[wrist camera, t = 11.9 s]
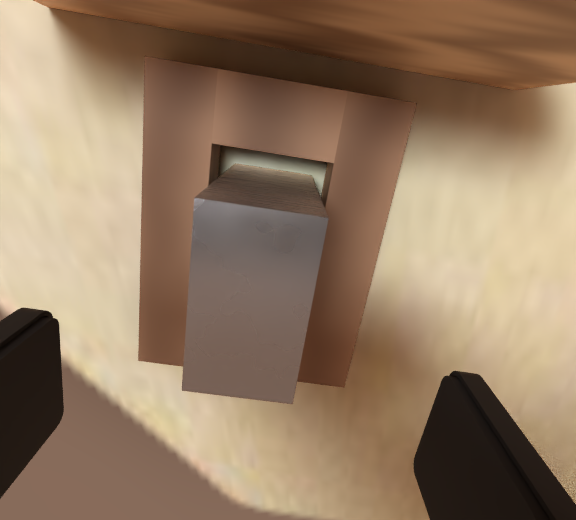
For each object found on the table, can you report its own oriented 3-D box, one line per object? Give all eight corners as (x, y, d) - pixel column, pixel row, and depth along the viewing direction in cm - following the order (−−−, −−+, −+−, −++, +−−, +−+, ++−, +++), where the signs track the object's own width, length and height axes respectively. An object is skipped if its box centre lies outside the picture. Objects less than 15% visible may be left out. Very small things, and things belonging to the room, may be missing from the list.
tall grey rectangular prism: (311, 175, 20) (328, 217, 11) (291, 295, 22) (292, 404, 14) (235, 163, 19) (194, 198, 11) (222, 285, 22) (181, 390, 13)
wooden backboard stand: (530, 43, 18) (964, -92, 6) (420, 371, 24) (536, 596, 13) (44, -47, 16) (-495, -412, 5) (65, 324, 23) (-152, 525, 12)
